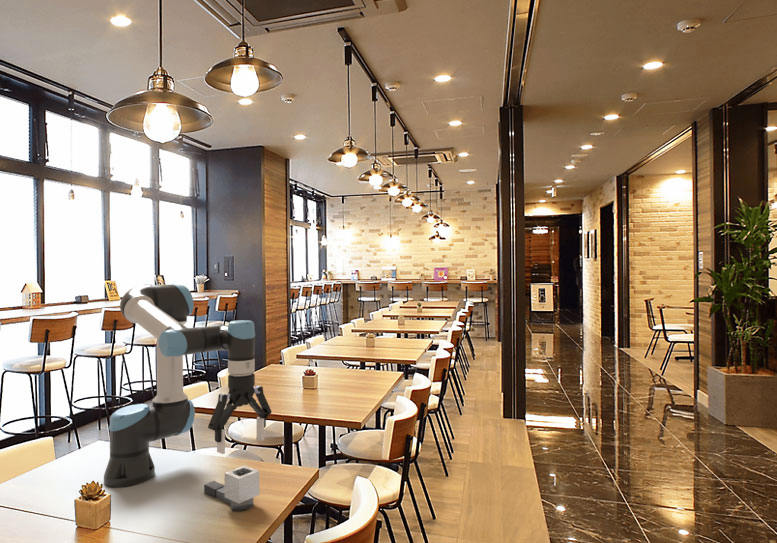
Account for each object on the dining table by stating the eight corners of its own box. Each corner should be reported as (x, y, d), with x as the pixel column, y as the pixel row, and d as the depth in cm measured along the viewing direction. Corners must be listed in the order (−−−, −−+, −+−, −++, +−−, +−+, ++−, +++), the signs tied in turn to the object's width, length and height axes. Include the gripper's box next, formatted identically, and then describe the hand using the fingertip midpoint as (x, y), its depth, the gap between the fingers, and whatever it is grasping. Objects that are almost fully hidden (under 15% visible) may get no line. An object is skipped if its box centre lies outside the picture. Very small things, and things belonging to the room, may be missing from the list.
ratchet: (199, 494, 149) (199, 466, 149) (218, 487, 154) (217, 460, 154) (239, 513, 137) (239, 483, 137) (257, 505, 142) (257, 476, 142)
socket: (224, 497, 141) (224, 472, 141) (244, 488, 146) (244, 465, 146) (239, 503, 137) (239, 478, 137) (259, 494, 142) (259, 470, 142)
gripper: (210, 383, 129) (210, 462, 129) (283, 368, 149) (282, 436, 149) (195, 379, 134) (195, 455, 134) (267, 365, 154) (267, 431, 154)
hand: (241, 445), depth 142 cm, fingers open, 13 cm apart
